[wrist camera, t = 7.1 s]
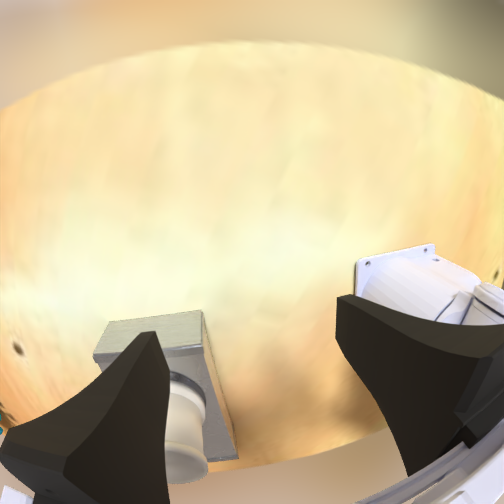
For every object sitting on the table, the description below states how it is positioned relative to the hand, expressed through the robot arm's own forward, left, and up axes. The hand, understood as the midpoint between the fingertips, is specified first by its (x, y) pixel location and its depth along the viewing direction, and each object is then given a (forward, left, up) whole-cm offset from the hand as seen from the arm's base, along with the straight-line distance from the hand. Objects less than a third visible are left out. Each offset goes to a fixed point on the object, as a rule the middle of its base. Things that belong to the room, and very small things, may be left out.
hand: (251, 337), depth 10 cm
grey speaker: (+7, +12, -10) cm, 17 cm away
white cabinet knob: (+7, +10, -6) cm, 13 cm away
